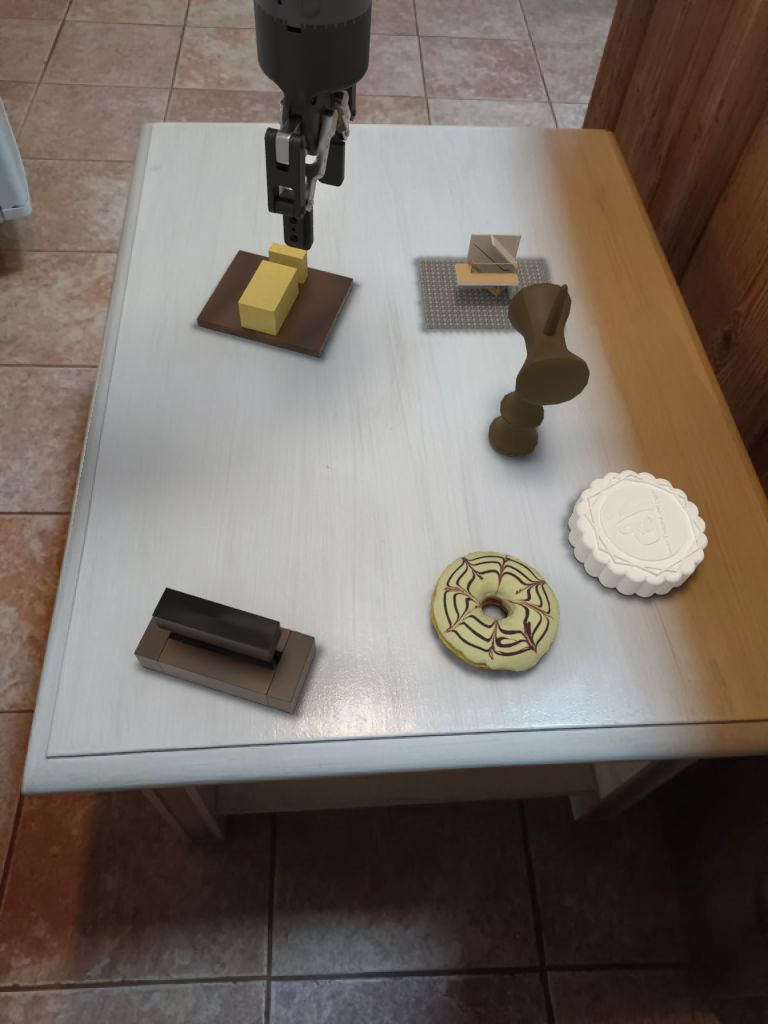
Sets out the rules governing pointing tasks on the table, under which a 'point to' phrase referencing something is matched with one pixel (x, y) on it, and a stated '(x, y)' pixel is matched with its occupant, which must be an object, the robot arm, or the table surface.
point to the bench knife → (219, 628)
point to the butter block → (268, 297)
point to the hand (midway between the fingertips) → (315, 213)
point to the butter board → (305, 318)
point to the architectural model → (477, 284)
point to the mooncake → (637, 533)
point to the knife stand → (232, 666)
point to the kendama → (538, 367)
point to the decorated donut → (483, 636)
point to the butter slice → (290, 259)
